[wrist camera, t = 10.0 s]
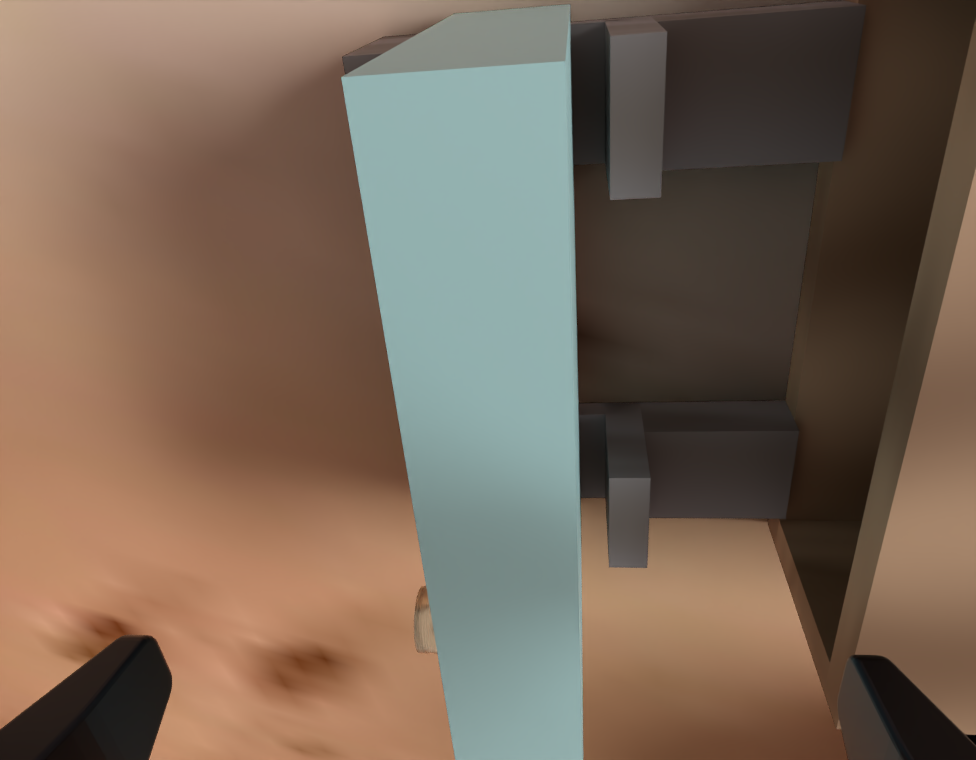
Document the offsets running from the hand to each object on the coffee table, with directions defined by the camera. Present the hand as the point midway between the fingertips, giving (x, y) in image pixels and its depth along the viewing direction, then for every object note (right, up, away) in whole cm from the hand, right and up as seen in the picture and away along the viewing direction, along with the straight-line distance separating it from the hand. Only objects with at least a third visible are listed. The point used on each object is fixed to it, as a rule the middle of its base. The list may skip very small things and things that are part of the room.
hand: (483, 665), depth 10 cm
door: (+1, +6, +10) cm, 11 cm away
